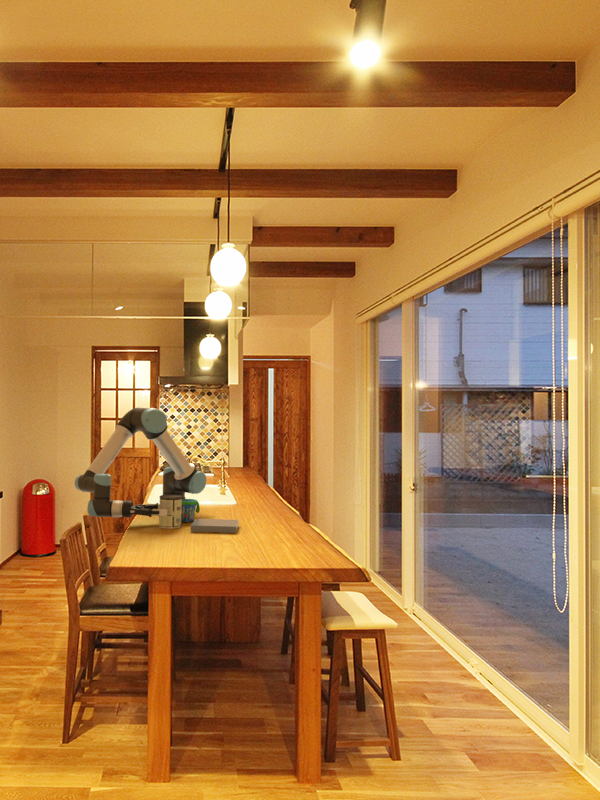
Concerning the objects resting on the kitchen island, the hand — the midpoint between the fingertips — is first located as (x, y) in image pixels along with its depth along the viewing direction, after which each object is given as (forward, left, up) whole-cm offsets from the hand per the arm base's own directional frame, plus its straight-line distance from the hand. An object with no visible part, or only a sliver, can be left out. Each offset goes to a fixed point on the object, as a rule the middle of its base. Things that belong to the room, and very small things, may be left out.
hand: (169, 510), depth 305 cm
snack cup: (-16, +5, -8) cm, 19 cm away
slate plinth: (+3, +21, -8) cm, 23 cm away
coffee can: (0, 0, -8) cm, 8 cm away
